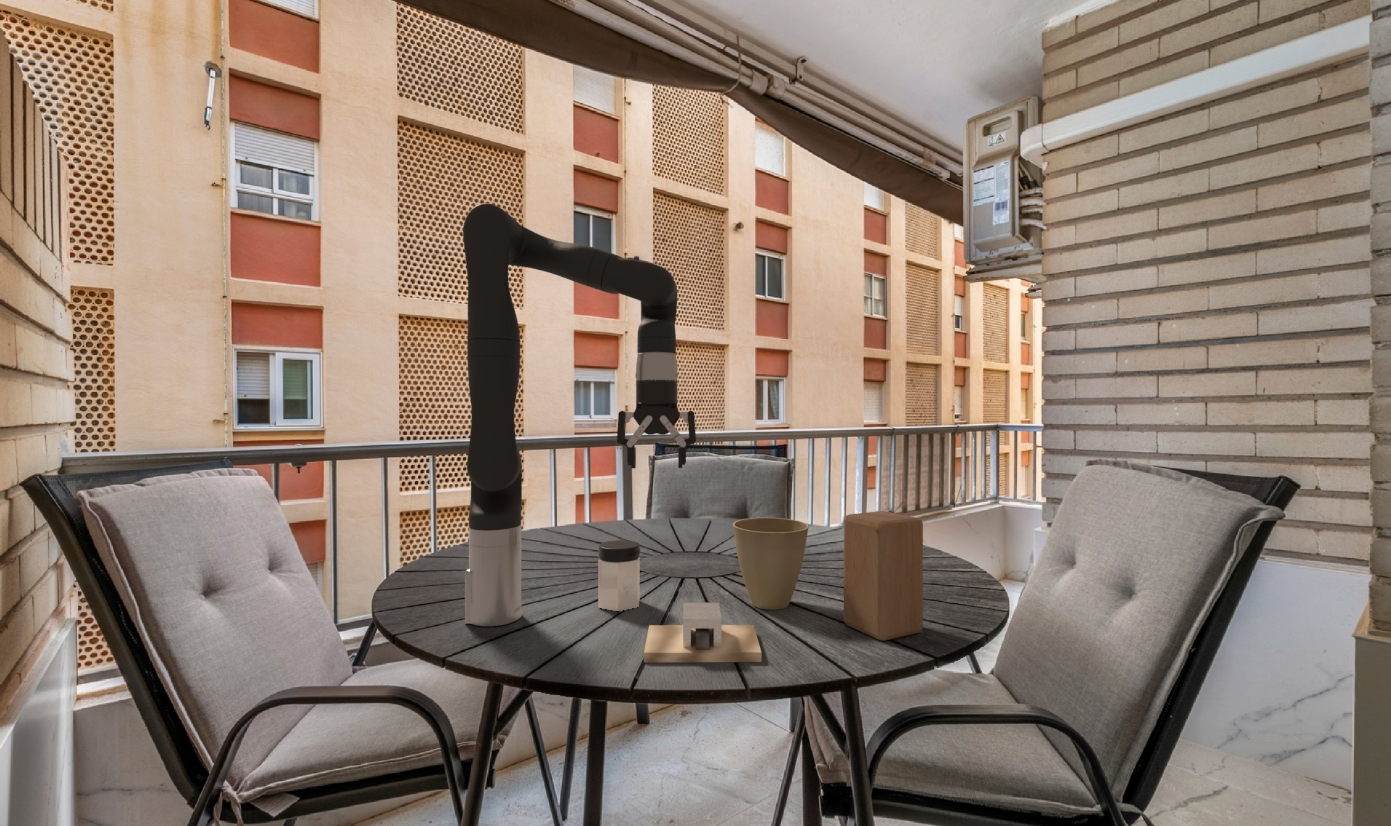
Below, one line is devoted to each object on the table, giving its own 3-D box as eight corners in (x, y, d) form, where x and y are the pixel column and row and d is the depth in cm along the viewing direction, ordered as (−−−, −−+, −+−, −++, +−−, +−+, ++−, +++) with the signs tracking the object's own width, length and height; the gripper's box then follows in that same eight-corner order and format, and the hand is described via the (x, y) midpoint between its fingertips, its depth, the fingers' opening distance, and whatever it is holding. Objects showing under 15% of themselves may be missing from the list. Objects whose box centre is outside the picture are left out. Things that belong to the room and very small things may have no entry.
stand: (643, 662, 94) (643, 636, 94) (649, 633, 106) (649, 610, 106) (761, 662, 94) (761, 636, 94) (753, 633, 106) (753, 610, 106)
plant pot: (717, 604, 122) (717, 524, 122) (762, 588, 133) (762, 515, 133) (779, 622, 112) (779, 535, 112) (822, 603, 123) (822, 523, 123)
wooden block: (882, 643, 102) (882, 523, 102) (841, 624, 111) (841, 513, 110) (925, 633, 106) (925, 518, 106) (882, 616, 115) (883, 509, 115)
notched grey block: (683, 647, 96) (683, 618, 96) (683, 629, 104) (683, 602, 104) (721, 647, 96) (721, 618, 96) (719, 629, 104) (719, 602, 104)
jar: (607, 614, 116) (607, 551, 116) (590, 603, 123) (590, 543, 123) (649, 606, 121) (649, 545, 121) (630, 595, 128) (630, 538, 128)
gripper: (695, 379, 116) (695, 466, 116) (619, 379, 116) (620, 466, 116) (696, 377, 108) (696, 470, 108) (615, 377, 108) (615, 470, 108)
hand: (656, 467), depth 112 cm, fingers open, 8 cm apart
